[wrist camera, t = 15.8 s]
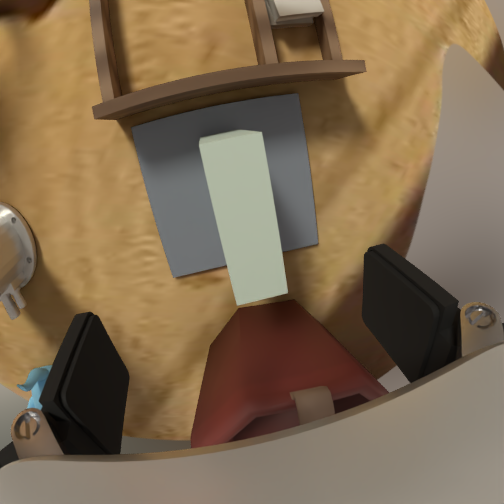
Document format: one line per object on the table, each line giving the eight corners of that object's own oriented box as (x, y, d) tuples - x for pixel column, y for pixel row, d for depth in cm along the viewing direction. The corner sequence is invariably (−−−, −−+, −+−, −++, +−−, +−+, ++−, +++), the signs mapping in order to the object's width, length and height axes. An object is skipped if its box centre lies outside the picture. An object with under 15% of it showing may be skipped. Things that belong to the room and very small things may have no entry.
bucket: (311, 395, 50) (358, 512, 27) (187, 398, 45) (196, 537, 23) (355, 278, 40) (466, 411, 18) (193, 269, 36) (197, 468, 13)
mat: (316, 241, 37) (318, 243, 37) (173, 275, 36) (173, 277, 35) (296, 93, 29) (298, 93, 29) (132, 127, 28) (131, 127, 28)
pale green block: (257, 233, 35) (287, 293, 23) (223, 241, 34) (237, 305, 23) (237, 129, 30) (261, 131, 18) (200, 137, 29) (198, 144, 18)
